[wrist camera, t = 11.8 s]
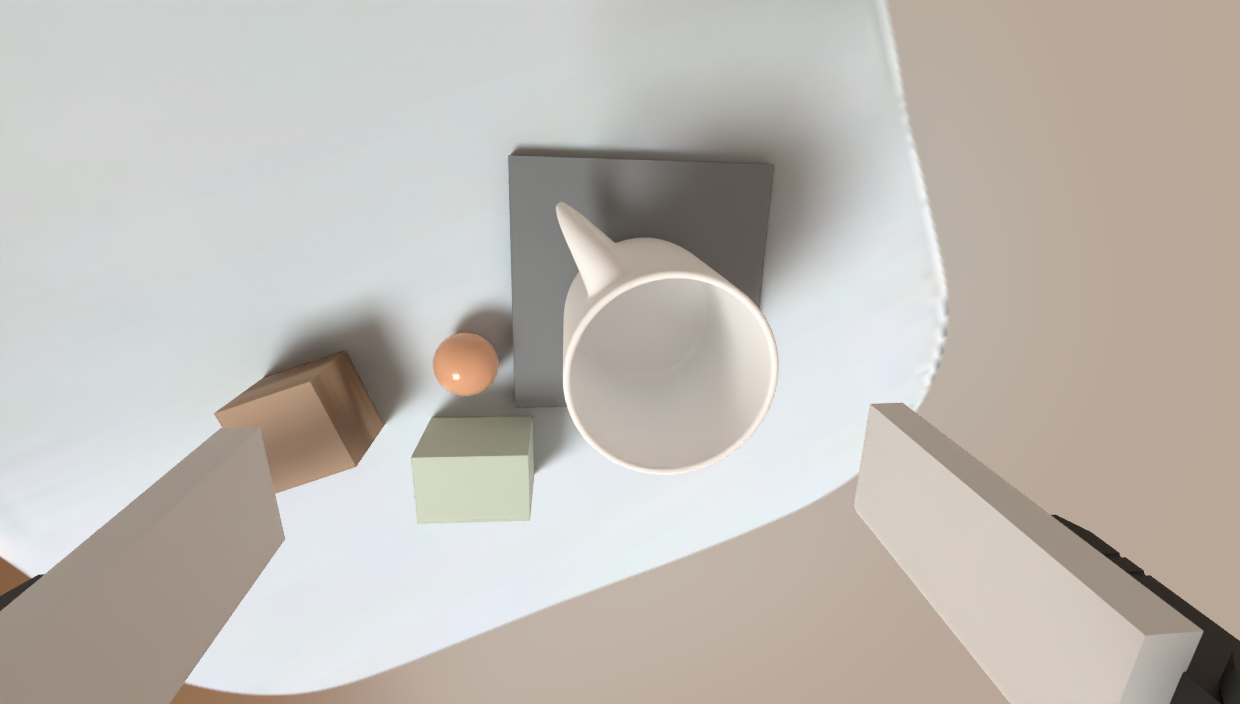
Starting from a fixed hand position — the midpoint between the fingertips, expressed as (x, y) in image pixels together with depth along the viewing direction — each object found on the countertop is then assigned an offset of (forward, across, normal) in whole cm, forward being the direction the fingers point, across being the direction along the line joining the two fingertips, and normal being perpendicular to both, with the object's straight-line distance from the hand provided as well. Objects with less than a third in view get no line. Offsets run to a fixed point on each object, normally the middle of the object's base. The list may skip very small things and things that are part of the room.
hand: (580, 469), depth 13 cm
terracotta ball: (+20, -6, -5) cm, 21 cm away
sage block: (+21, -6, -11) cm, 24 cm away
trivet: (+21, +4, -1) cm, 22 cm away
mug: (+21, +3, -1) cm, 21 cm away
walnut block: (+21, -14, -7) cm, 27 cm away
